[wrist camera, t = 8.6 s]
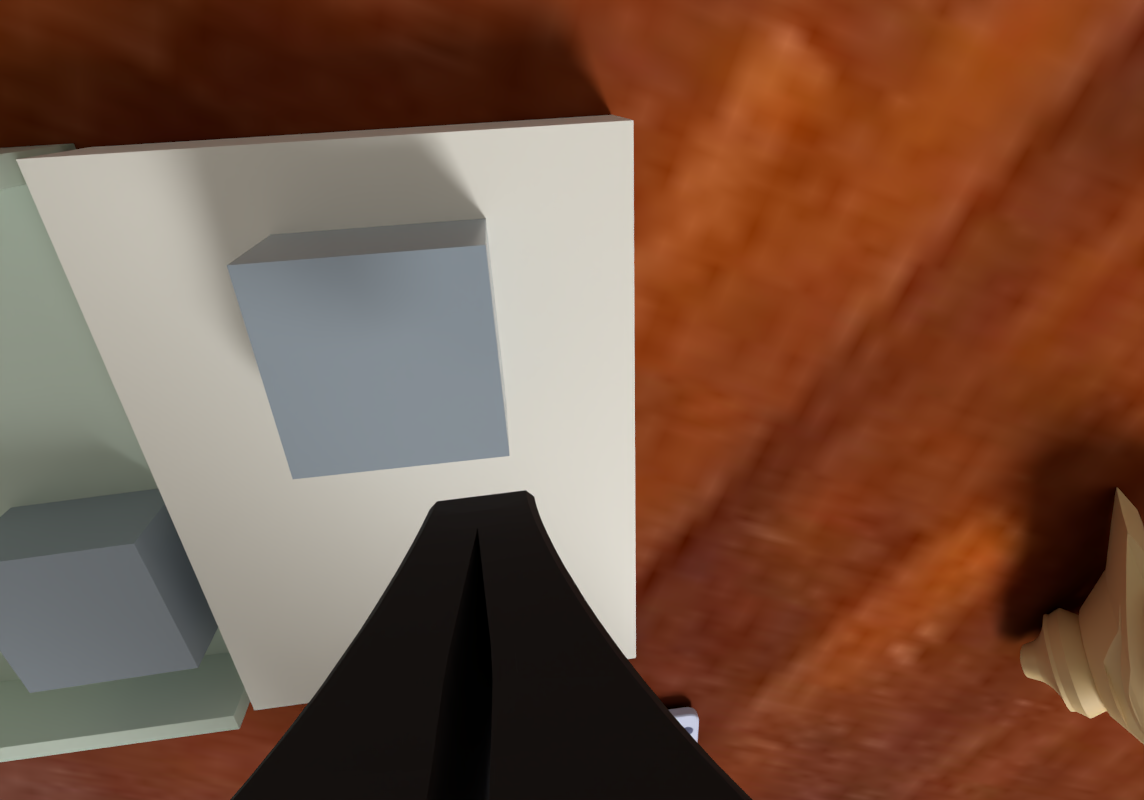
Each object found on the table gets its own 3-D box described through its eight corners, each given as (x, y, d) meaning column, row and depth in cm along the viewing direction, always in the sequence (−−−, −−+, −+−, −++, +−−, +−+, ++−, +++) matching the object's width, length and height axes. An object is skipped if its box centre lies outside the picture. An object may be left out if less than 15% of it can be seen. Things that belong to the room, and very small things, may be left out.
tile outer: (506, 402, 16) (509, 455, 13) (321, 421, 15) (292, 479, 13) (485, 218, 13) (486, 244, 11) (270, 234, 13) (226, 265, 11)
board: (621, 601, 22) (635, 657, 20) (278, 645, 21) (254, 710, 19) (611, 114, 15) (633, 120, 13) (89, 146, 14) (15, 159, 12)
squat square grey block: (230, 602, 20) (197, 667, 18) (82, 623, 19) (29, 693, 17) (178, 485, 18) (134, 543, 15) (10, 507, 17) (-59, 569, 15)
